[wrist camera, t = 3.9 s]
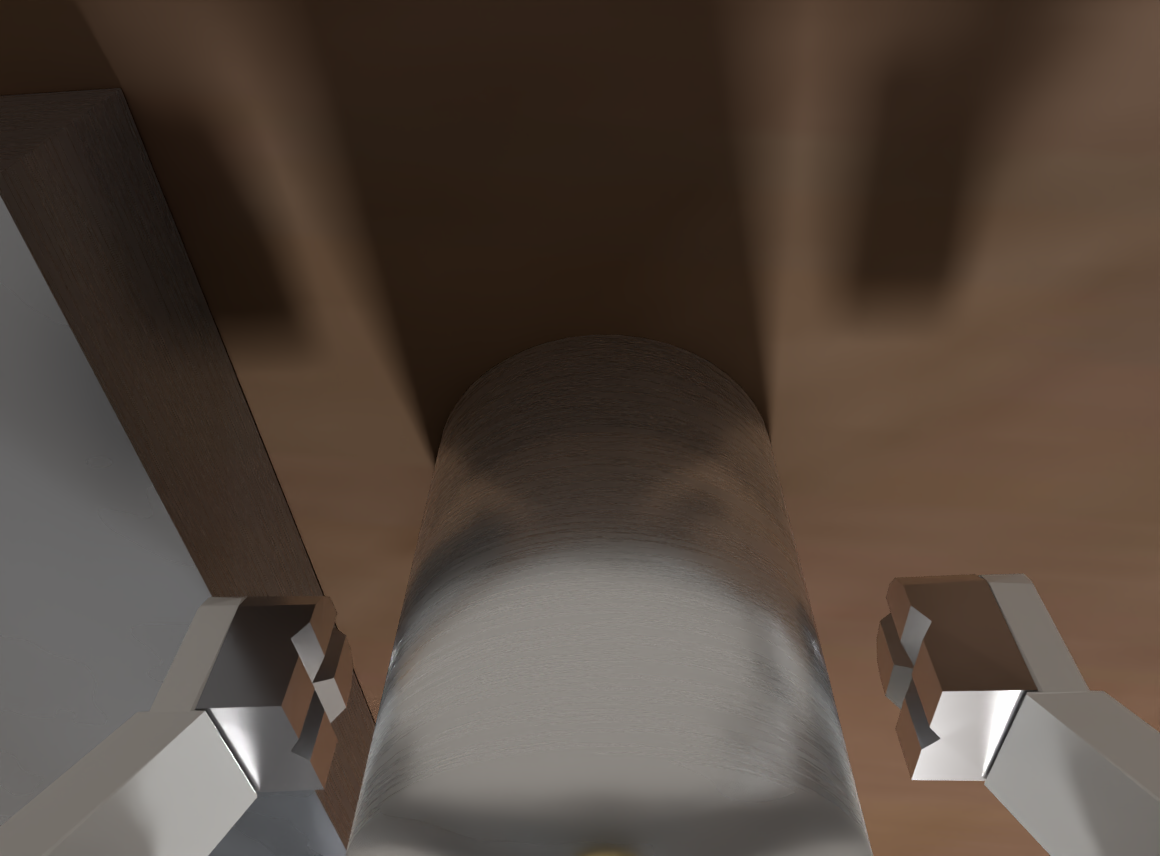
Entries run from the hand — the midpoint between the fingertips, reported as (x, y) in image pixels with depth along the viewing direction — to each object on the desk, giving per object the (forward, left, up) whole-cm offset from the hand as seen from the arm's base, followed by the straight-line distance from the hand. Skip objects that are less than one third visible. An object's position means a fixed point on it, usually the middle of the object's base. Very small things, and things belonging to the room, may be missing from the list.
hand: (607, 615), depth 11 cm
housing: (0, 0, -3) cm, 3 cm away
